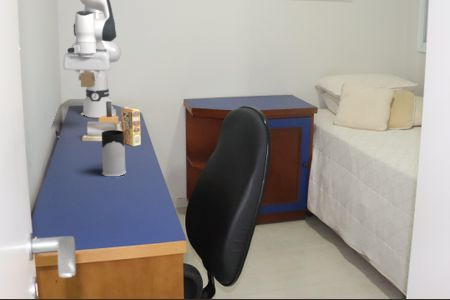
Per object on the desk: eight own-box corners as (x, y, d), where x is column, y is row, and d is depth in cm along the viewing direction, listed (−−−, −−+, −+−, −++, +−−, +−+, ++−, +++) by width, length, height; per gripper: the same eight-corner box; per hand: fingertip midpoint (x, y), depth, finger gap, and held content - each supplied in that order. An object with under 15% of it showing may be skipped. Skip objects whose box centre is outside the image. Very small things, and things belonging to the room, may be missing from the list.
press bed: (94, 128, 257) (93, 113, 255) (127, 129, 257) (127, 113, 255) (82, 140, 234) (81, 124, 232) (118, 141, 234) (118, 124, 232)
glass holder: (102, 178, 184) (100, 136, 180) (100, 166, 197) (98, 127, 193) (128, 176, 186) (126, 134, 182) (124, 165, 199) (122, 125, 196)
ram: (101, 126, 255) (100, 101, 252) (118, 126, 255) (117, 101, 252) (99, 128, 249) (98, 103, 246) (116, 129, 249) (115, 103, 246)
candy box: (141, 145, 229) (140, 109, 225) (133, 146, 226) (132, 110, 222) (129, 141, 235) (128, 106, 231) (121, 142, 232) (120, 107, 228)
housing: (83, 85, 242) (83, 72, 240) (94, 85, 242) (94, 72, 240) (81, 86, 237) (80, 73, 236) (92, 87, 237) (91, 73, 236)
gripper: (111, 48, 239) (112, 80, 242) (65, 48, 239) (67, 79, 242) (108, 49, 232) (109, 81, 236) (61, 49, 232) (63, 80, 236)
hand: (87, 80), depth 239 cm, fingers closed on housing, 5 cm apart
